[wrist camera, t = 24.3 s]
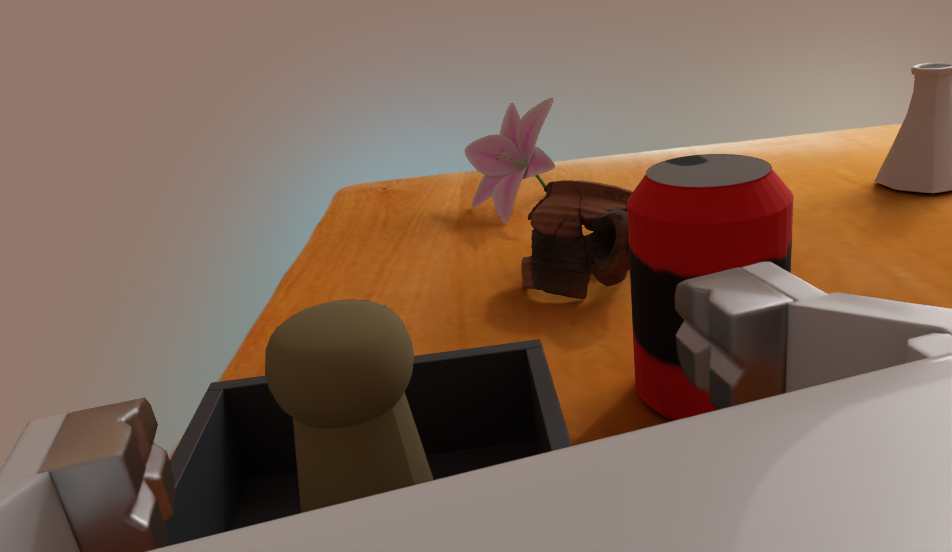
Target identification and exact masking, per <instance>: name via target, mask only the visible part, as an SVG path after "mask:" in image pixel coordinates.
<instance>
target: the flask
mask: <svg viewBox="0 0 952 552" xmlns="http://www.w3.org/2000/svg"><path fill="white" fill-rule="evenodd" d="M911 71H912V74H914V75H915V82H914V92H913V95H912V99H911V102H910V106H909V109H908V113H907V115H906V117H905V119H904V122H903V124H902V126H901V128H900V130H899V132H898V135H897V137H896V139H895V141H894V143H893V145H892V147H891V149H890V151H889V153H888V155H887V157H886V159H885V161H884V163H883V165H882V167H881V169H880V171H879V173H878V175H877V177H876V179H875V182H877V183H880V184H882V185H885V186H888V187H890V188H893V189H895V190H904V191H914V192H924V193H938V192H944V191H950V190H952V63H947V62H945V63H942V62H938V63H936V62H931V63H924V64H918V65H915V66H913V67H912V69H911Z"/></svg>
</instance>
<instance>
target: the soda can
mask: <svg viewBox="0 0 952 552" xmlns="http://www.w3.org/2000/svg"><path fill="white" fill-rule="evenodd" d="M627 214H628V235H629V256H630V278H631V299H632V320H633V342H634V363H635V384H636V389H637V392H638V394H639V396H640V397H641V399H642V400H643V401H644V402H645V403H646V404H647V405H648V406H649V407H651V408H652V409H653V410H654V411H655V412H657V413H658V414H660V415H662V416H664V417H665V418H668V419H671V420H673V421H676V420H680V419H684V418H688V417H692V416H696V415H700V414H704V413H708V412H712V411H716V410H717V409H716V408H715V407H714V406H713V405H712V404H711V403H710V393H709V392H706V391H703V390H699V389H696V388H695V387H694V386H693V385H692V384H691V383H690V382H689V381H688V379H687V378H686V376H685V374H684V373H683V371H682V368H681V365H680V362H679V358H678V355H677V344H676V334H677V332H678V330H679V329H680V327H681V325H682V324H683V322H684V319H683V318H682V317H681V316H680V315H679V313H678V312H677V311H676V310H675V292H676V287H677V284H679V283H680V282H682V281H684V280H688V279H692V278H696V277H700V276H704V275H709V274H713V273H717V272H721V271H725V270H729V269H733V268H737V267H740V268H742V267H745V266H749V265H753V264H756V263H760V262H772V263H773V264H775V265H777V266H779V267H781V268H782V269H784V270H786V271H788V272H789V273H791V248H792V219H793V195H792V193H791V191H790V190H789V189H788V188H787V186H786V185H785V184H784V183H783V182H782V180H781V179H780V178H779V177H778V176H777V174H776V173H775V172H774V171H773V170H772V167H771V165H770V164H769V163H768V162H766V161H764V160H762V159H758V158H755V157H749V156H743V155H732V154H706V155H694V156H686V157H679V158H675V159H670V160H666V161H663V162H660V163H658V164H655V165H653V166H652V167H650V168H649V169H648V170H647V171H646V175H645V176H644V178H643V179H642V180H641V182H640V183H639V185H638V186H637V187H636V189H635V190H634V191H633V193H632V194H631V195H630V197H629V198H628V201H627Z"/></svg>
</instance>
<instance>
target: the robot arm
mask: <svg viewBox="0 0 952 552" xmlns="http://www.w3.org/2000/svg"><path fill="white" fill-rule="evenodd" d="M675 310H676V311H677V312H678V313H679V315H680V316H681V317H682V318H683V319H684V322H683V324H682V325H681V327H680V329H679V330H678V332H677V334H676V344H677V355H678V358H679V362H680V365H681V368H682V371H683V373H684V374H685V376H686V378H687V379H688V381H689V382H690V383H691V384H692V385H693V386H694V387H695V388H696V389H699V390H703V391H706V392H709V393H710V403H711V404H712V405H713V406H714V407H715V408H716V409H717V410H716V411H712V412H708V413H704V414H700V415H696V416H692V417H688V418H684V419H680V420H676V421H672V422H668V423H664V424H660V425H656V426H652V427H647V428H643V429H639V430H635V431H631V432H627V433H623V434H619V435H615V436H611V437H607V438H603V439H599V440H595V441H591V442H587V443H583V444H579V445H575V446H571V447H567V448H563V449H559V450H555V451H551V452H547V453H542V454H538V455H534V456H530V457H526V458H522V459H518V460H514V461H510V462H506V463H502V464H498V465H494V466H490V467H486V468H482V469H478V470H474V471H470V472H466V473H462V474H458V475H454V476H450V477H446V478H441V479H437V480H433V481H429V482H425V483H421V484H417V485H413V486H409V487H405V488H401V489H397V490H393V491H389V492H385V493H381V494H377V495H373V496H369V497H365V498H361V499H357V500H353V501H349V502H345V503H340V504H336V505H332V506H328V507H324V508H320V509H316V510H312V511H308V512H304V513H300V514H296V515H292V516H288V517H284V518H280V519H276V520H272V521H268V522H264V523H260V524H256V525H252V526H248V527H244V528H239V529H235V530H231V531H227V532H223V533H219V534H215V535H211V536H207V537H203V538H199V539H195V540H191V541H187V542H183V543H179V544H175V545H171V546H167V541H168V537H169V535H168V532H167V529H166V526H165V522H166V521H167V520H168V519H169V518H170V517H171V516H172V515H173V512H174V506H175V483H174V478H173V473H172V468H171V464H170V461H169V458H168V454H167V451H165V450H164V449H162V448H161V447H160V446H158V445H157V444H155V443H154V442H153V441H154V437H155V433H156V430H157V426H158V424H157V421H156V418H155V416H154V413H153V410H152V408H151V405H150V404H149V402H148V401H147V400H146V399H145V398H140V399H135V400H131V401H125V402H121V403H116V404H110V405H105V406H100V407H95V408H90V409H85V410H81V411H75V412H72V413H70V412H65V413H61V414H58V415H54V416H49V417H45V418H41V419H37V420H33V421H30V422H28V424H27V425H26V427H25V429H24V431H23V432H22V434H21V436H20V438H19V439H18V441H17V443H16V445H15V446H14V448H13V449H12V451H11V453H10V455H9V456H8V458H7V460H6V461H5V464H4V465H3V467H2V468H1V470H0V552H952V309H948V308H941V307H934V306H927V305H920V304H913V303H906V302H900V301H893V300H886V299H879V298H872V297H865V296H858V295H852V294H845V293H838V292H836V293H831V294H826V293H825V292H823V291H821V290H819V289H818V288H816V287H814V286H812V285H811V284H809V283H807V282H805V281H804V280H802V279H800V278H798V277H796V276H795V275H793V274H791V273H789V272H788V271H786V270H784V269H782V268H781V267H779V266H777V265H775V264H773V263H772V262H760V263H756V264H753V265H749V266H745V267H742V268H740V267H737V268H733V269H729V270H725V271H721V272H717V273H713V274H709V275H704V276H700V277H696V278H692V279H688V280H684V281H682V282H680V283H679V284H677V287H676V292H675ZM166 546H167V547H166Z"/></svg>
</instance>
